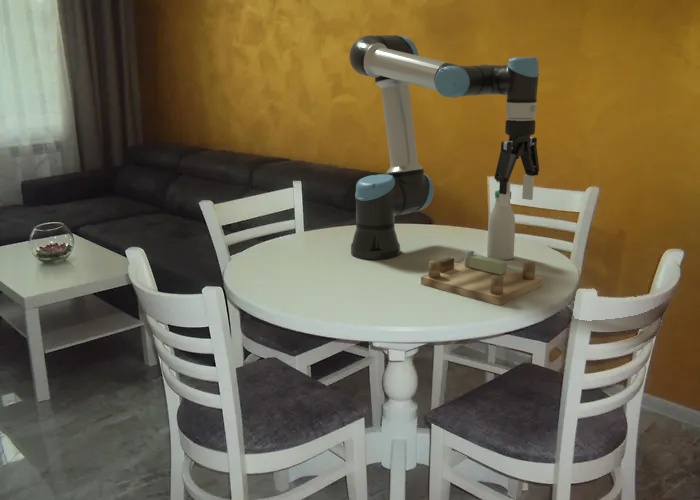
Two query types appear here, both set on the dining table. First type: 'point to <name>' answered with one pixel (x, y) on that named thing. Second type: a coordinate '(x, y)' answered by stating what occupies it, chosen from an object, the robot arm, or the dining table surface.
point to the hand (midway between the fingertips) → (515, 202)
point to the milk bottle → (501, 231)
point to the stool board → (480, 281)
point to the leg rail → (485, 263)
